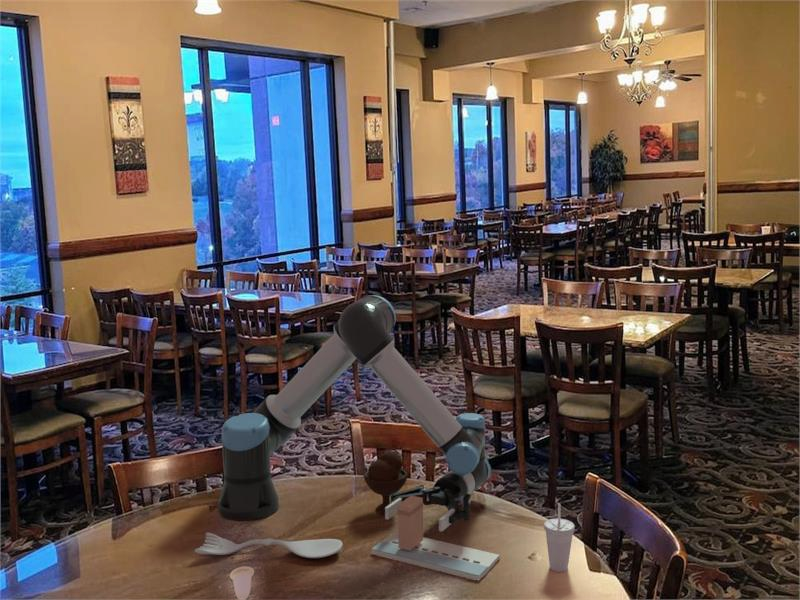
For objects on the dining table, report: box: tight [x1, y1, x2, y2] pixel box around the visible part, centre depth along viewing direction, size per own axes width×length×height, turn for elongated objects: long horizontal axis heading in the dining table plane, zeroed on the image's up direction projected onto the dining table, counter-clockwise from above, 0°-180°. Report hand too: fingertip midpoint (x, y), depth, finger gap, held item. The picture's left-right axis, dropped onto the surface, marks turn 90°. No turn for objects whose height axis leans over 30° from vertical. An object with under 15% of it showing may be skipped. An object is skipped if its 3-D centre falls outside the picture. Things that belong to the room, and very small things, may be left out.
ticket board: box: [371, 530, 501, 582], centre depth 174 cm, size 26×11×1 cm, turn 60°
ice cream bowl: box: [363, 450, 409, 515], centre depth 199 cm, size 11×11×15 cm
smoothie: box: [543, 503, 576, 573], centre depth 167 cm, size 6×6×14 cm
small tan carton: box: [397, 496, 424, 551], centre depth 176 cm, size 3×6×10 cm, turn 150°
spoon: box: [194, 532, 344, 559], centre depth 177 cm, size 9×32×4 cm, turn 87°
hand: (412, 519), depth 176 cm, fingers open, 13 cm apart
